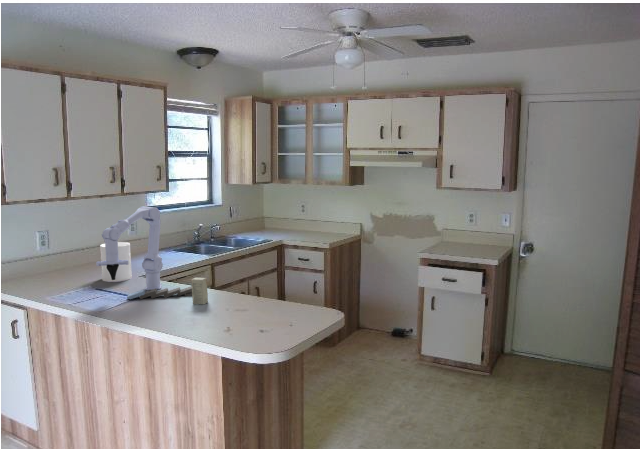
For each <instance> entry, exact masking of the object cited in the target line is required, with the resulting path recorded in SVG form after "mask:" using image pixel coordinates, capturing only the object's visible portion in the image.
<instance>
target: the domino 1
mask: <svg viewBox="0 0 640 449" xmlns="http://www.w3.org/2000/svg"><path fill="white" fill-rule="evenodd" d="M145 292H146V290H145V288H143V289H140V290H137V291H135V292H131V293H129V294H127V296H126V299H127V300H128V299H130V300H133V299H135V298H140V297H139V296H142V295H144V294H145Z"/></svg>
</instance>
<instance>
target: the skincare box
mask: <svg viewBox="0 0 640 449" xmlns="http://www.w3.org/2000/svg"><path fill="white" fill-rule="evenodd" d="M207 279H208V278H207V277H194V278H191V286H192V296H191V297H192V304H194V305H206V304H207V303H209V298H208V297H209V295H208V281H207Z"/></svg>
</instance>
